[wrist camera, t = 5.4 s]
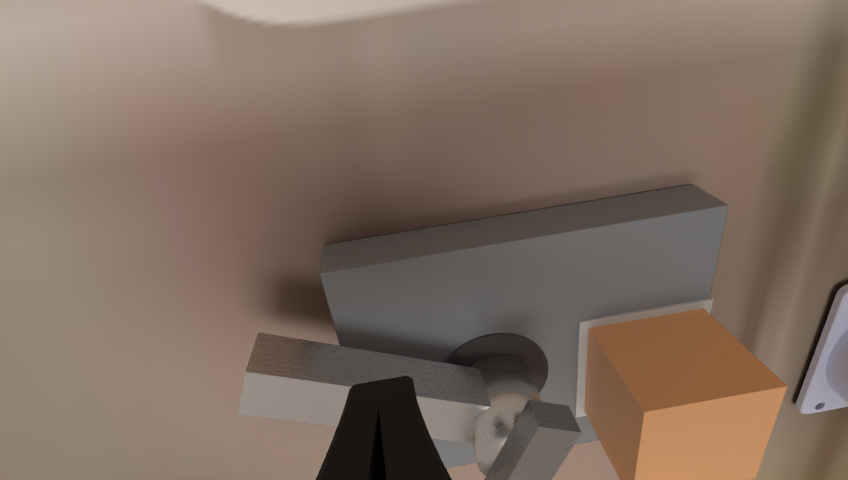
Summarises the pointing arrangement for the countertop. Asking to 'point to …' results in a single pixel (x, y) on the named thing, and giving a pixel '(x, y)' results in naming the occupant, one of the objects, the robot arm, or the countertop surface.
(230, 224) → the countertop surface
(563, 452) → the lever handle
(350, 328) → the box
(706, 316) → the orange cube
